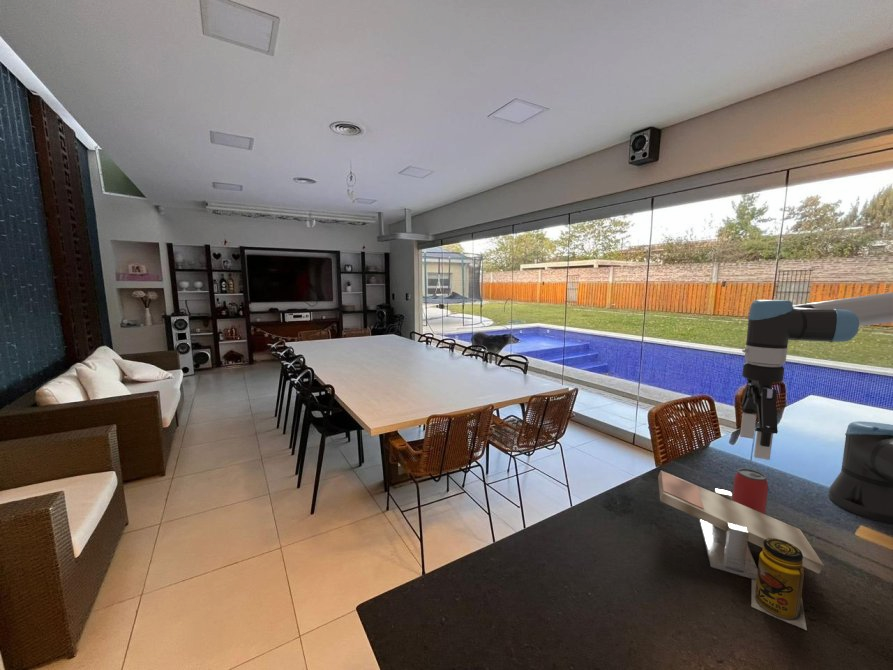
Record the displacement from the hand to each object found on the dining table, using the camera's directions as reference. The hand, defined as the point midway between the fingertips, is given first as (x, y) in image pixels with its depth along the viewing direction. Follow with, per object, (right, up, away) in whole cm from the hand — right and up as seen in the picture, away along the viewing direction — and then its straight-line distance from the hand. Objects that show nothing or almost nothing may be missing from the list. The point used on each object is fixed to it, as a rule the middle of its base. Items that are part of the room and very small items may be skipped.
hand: (753, 447), depth 90 cm
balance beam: (-14, -13, -9) cm, 21 cm away
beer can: (0, -19, +2) cm, 19 cm away
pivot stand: (-13, -20, -8) cm, 26 cm away
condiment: (-15, -22, -23) cm, 35 cm away
